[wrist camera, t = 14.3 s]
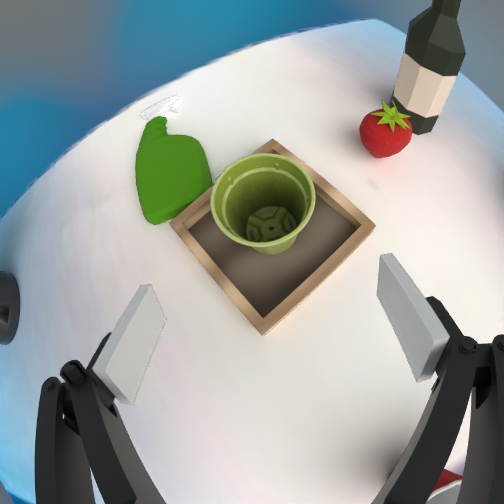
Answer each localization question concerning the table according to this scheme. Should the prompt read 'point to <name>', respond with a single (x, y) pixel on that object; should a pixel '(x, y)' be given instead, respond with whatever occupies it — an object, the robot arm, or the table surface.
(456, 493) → the plastic cup
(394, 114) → the strawberry
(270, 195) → the plant pot
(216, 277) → the square wooden tray
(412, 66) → the wine bottle
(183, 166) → the spray bottle
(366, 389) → the table surface
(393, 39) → the table surface
